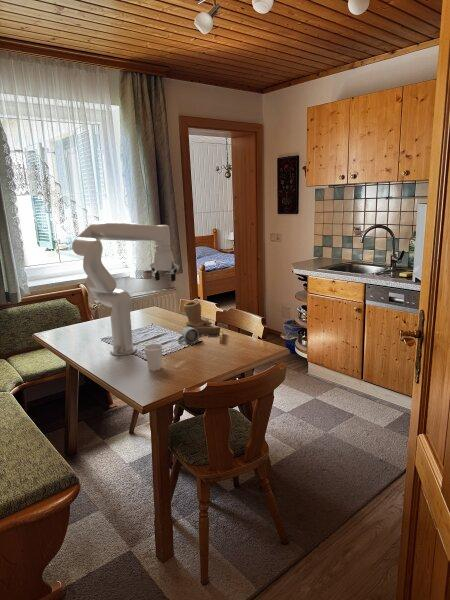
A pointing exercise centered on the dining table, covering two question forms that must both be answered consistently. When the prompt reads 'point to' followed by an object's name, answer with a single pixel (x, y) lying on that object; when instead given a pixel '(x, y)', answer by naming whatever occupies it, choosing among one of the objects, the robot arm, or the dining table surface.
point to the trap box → (211, 332)
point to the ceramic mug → (189, 335)
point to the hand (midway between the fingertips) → (165, 280)
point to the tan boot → (195, 315)
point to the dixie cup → (153, 356)
